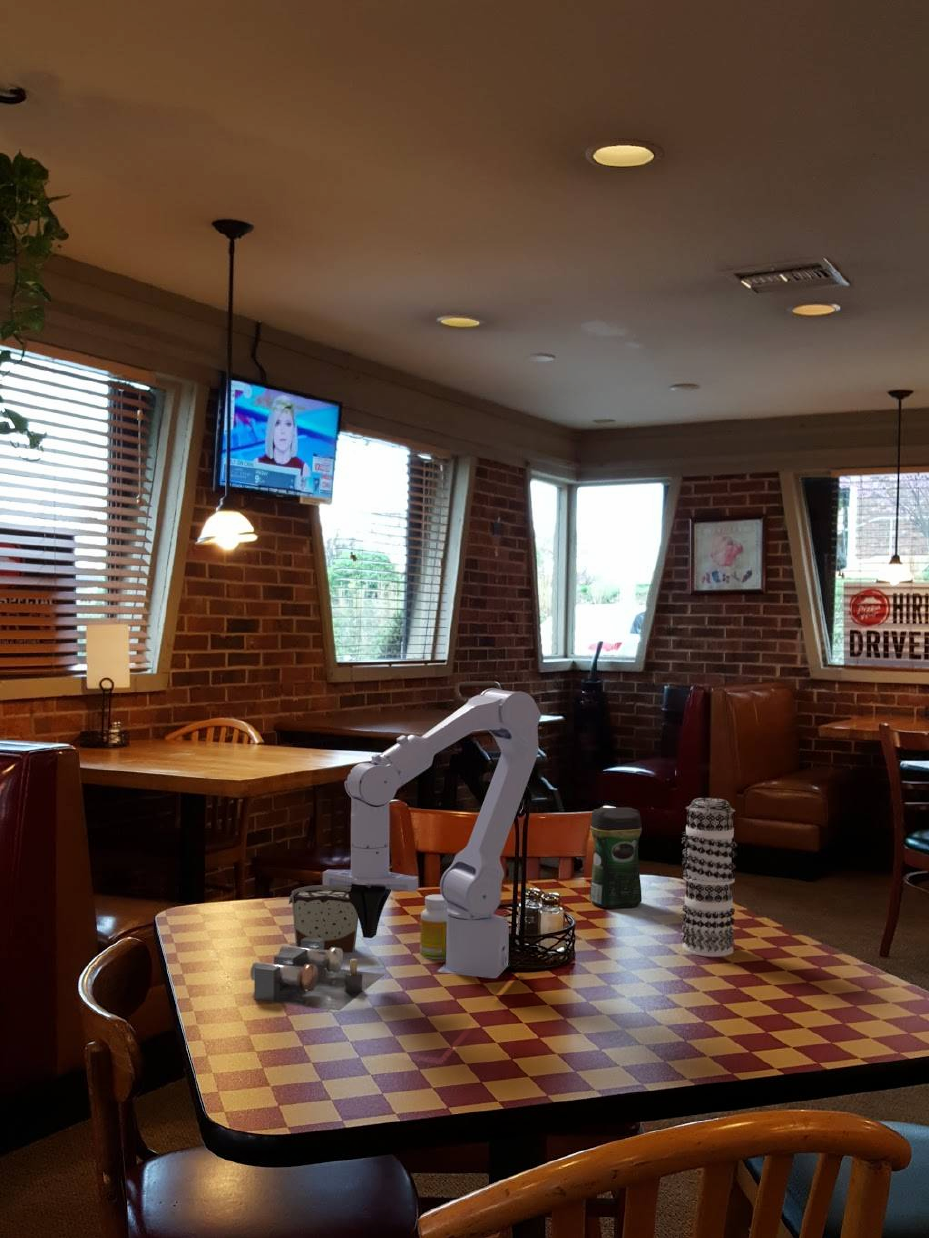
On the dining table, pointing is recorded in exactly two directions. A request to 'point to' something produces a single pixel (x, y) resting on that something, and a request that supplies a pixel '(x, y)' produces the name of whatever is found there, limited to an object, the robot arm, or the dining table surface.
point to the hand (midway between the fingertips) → (369, 936)
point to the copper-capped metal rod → (294, 975)
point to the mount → (323, 996)
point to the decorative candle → (708, 878)
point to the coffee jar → (615, 858)
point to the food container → (325, 916)
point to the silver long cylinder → (323, 957)
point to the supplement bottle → (434, 928)
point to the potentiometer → (353, 978)
